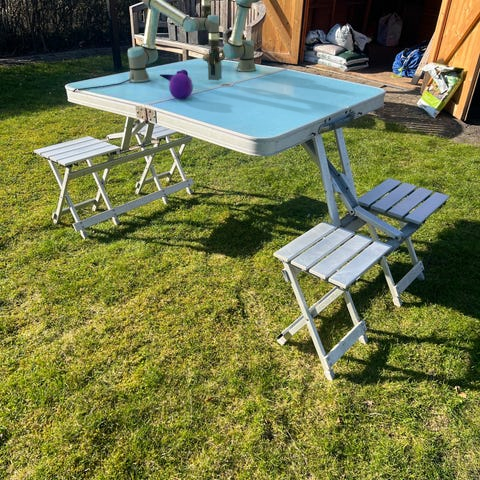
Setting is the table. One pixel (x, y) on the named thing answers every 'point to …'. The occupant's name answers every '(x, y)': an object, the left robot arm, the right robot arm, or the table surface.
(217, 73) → the block
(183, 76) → the toy
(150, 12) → the left robot arm
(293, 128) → the table surface
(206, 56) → the teapot
